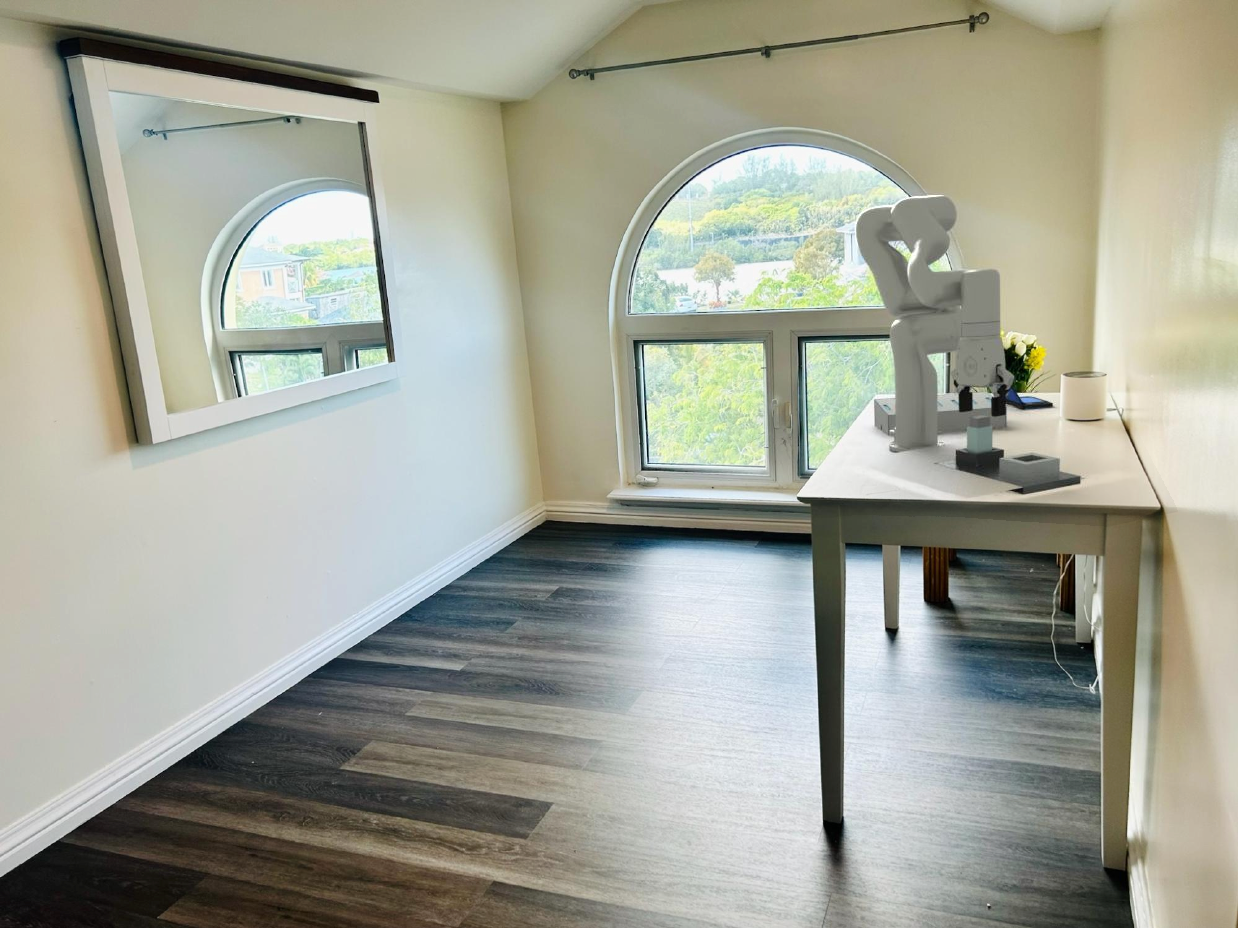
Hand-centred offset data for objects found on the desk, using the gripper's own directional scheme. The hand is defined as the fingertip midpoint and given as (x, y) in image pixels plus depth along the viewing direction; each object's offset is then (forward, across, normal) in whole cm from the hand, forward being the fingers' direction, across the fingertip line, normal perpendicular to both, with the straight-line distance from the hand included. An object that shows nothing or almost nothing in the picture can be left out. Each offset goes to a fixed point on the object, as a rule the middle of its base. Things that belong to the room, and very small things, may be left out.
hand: (981, 413), depth 199 cm
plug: (+11, -1, 0) cm, 11 cm away
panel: (+12, +6, 0) cm, 14 cm away
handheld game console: (+11, -56, +62) cm, 84 cm away
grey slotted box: (+11, -46, +26) cm, 54 cm away
